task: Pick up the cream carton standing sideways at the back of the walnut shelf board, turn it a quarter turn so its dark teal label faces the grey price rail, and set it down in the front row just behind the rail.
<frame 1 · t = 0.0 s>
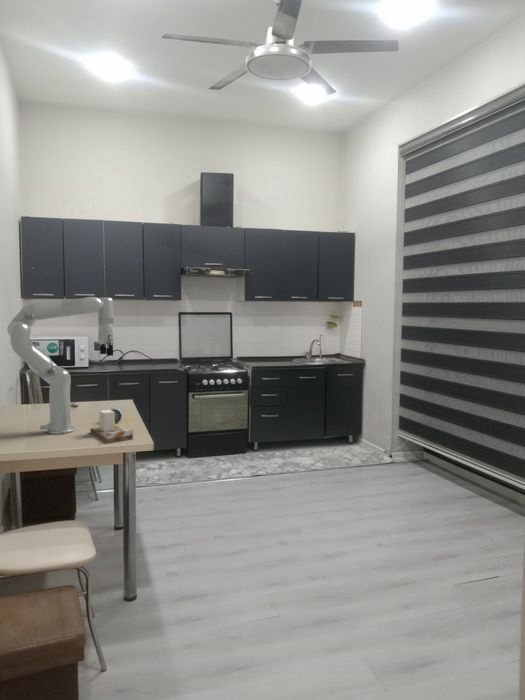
hand: (106, 354, 264), 37 cm above the table, tool pointing down, fingers open, 9 cm apart
shelf board: (111, 435, 245), on the table
carton: (112, 428, 250), point 2 cm above the table, touching shelf board
ceramic mug: (112, 422, 274), on the table
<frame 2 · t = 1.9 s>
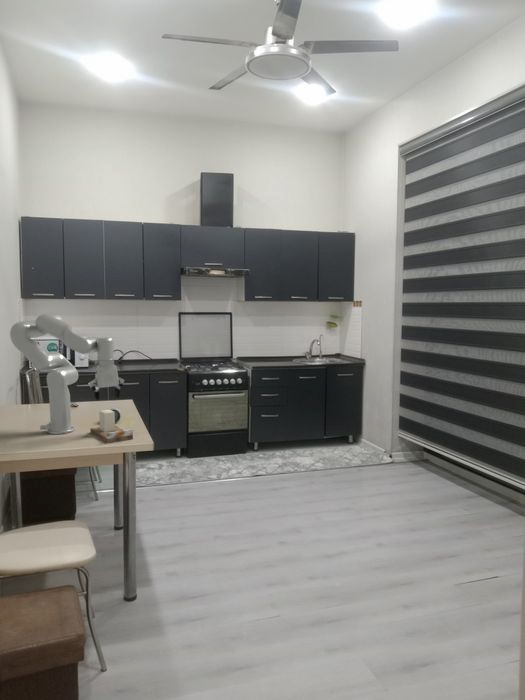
hand: (107, 398, 247), 17 cm above the table, tool pointing down, fingers open, 9 cm apart
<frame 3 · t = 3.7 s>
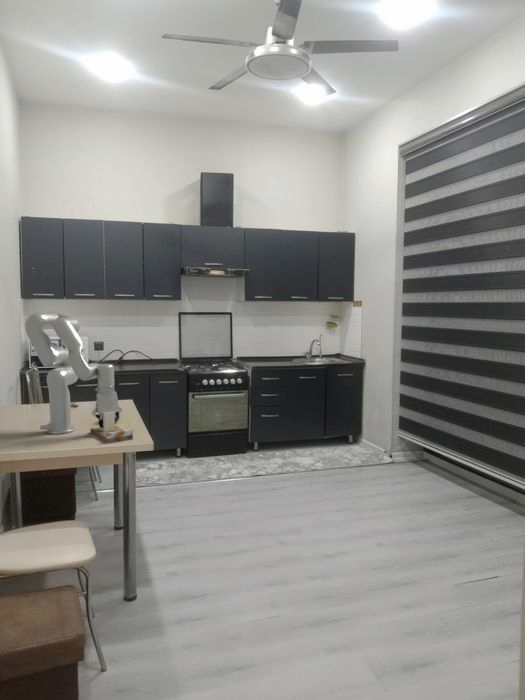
hand: (107, 426, 249), 4 cm above the table, tool pointing down, fingers closed on carton, 5 cm apart
carton: (112, 428, 250), point 2 cm above the table, touching gripper, shelf board
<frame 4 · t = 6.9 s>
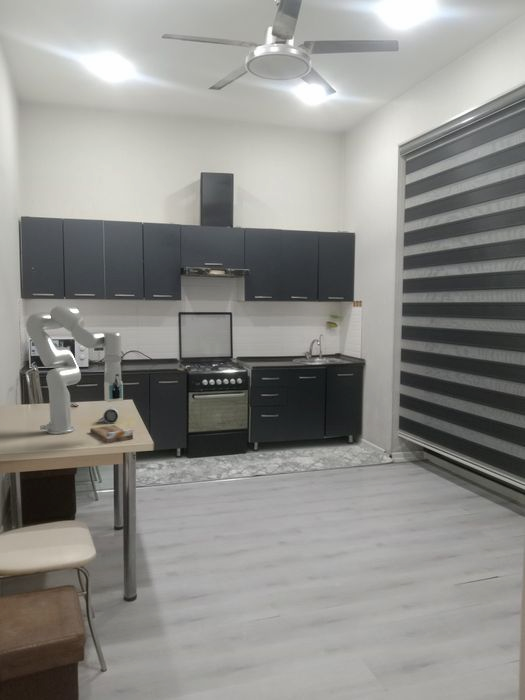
hand: (113, 397, 239), 19 cm above the table, tool pointing down, fingers closed on carton, 5 cm apart
carton: (115, 401, 237), point 18 cm above the table, touching gripper
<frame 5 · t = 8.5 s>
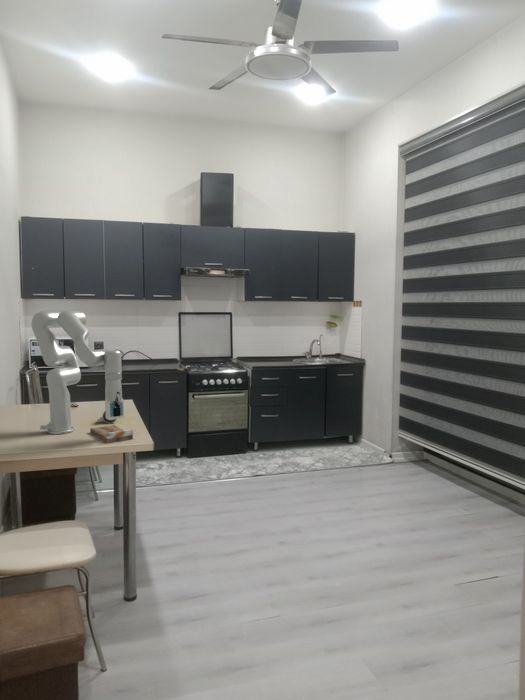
hand: (114, 414, 240), 11 cm above the table, tool pointing down, fingers closed on carton, 5 cm apart
carton: (116, 419, 238), point 10 cm above the table, touching gripper
when the fingers open (5 cm above the table, at t = 10.1 s): carton drops 1 cm, resting on shelf board.
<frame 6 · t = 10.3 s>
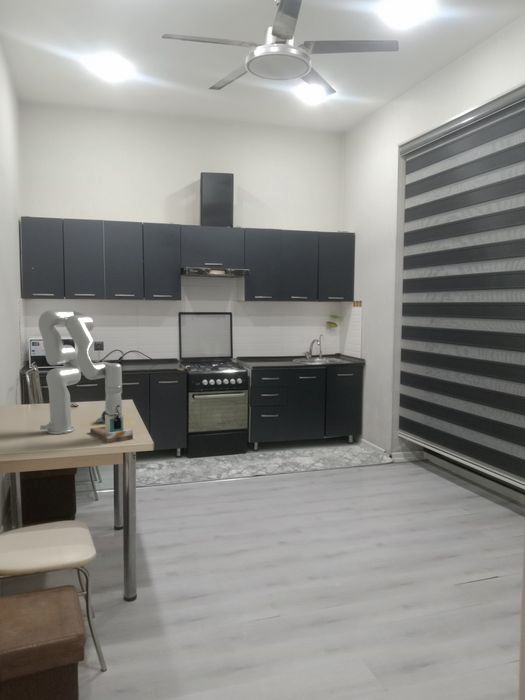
hand: (114, 426, 240), 5 cm above the table, tool pointing down, fingers open, 7 cm apart
carton: (116, 434, 239), point 2 cm above the table, touching shelf board
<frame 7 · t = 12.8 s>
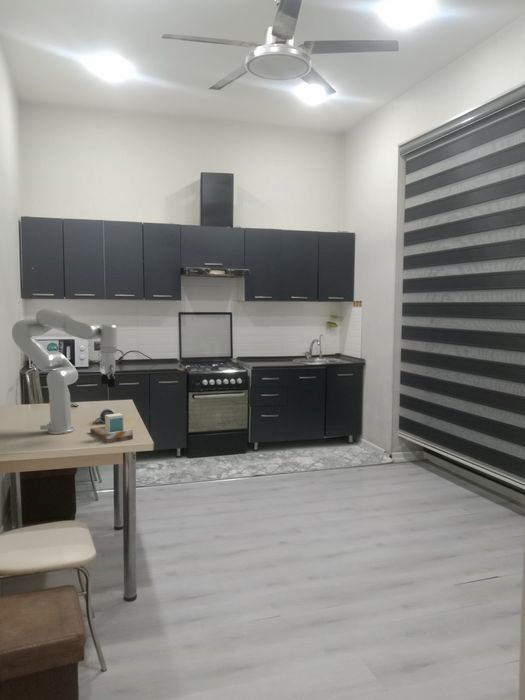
hand: (107, 385, 247), 24 cm above the table, tool pointing down, fingers open, 9 cm apart
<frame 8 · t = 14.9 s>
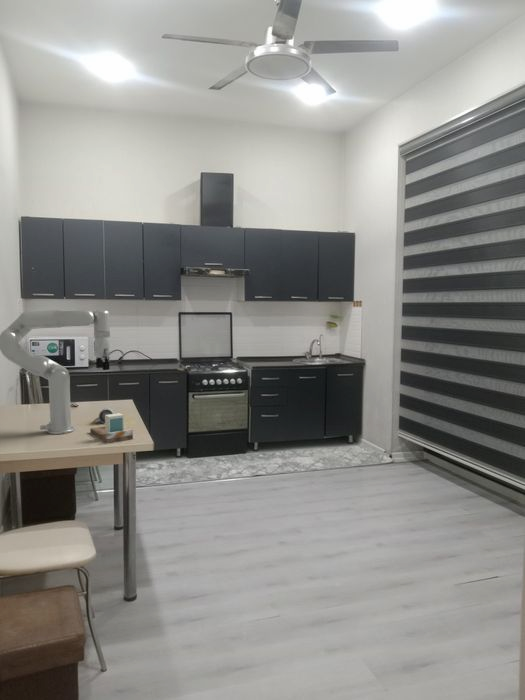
hand: (102, 368, 258), 30 cm above the table, tool pointing down, fingers open, 9 cm apart
at the end: carton 0.1 cm from the target spot, point 2.0 cm above the table; carton tilted 0°; the gripper is holding nothing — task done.
